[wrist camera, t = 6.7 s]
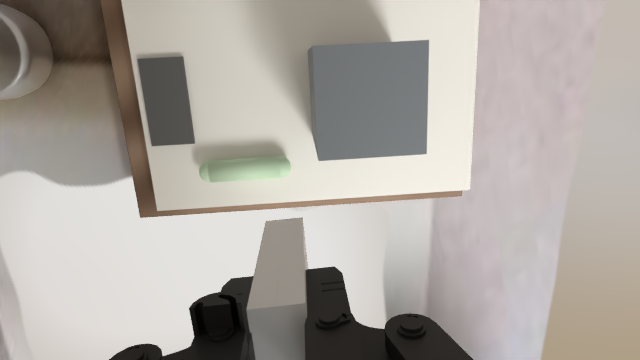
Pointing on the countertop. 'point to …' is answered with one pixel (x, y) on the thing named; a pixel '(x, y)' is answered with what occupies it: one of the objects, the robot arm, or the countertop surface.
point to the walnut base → (137, 139)
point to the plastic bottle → (22, 54)
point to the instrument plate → (303, 98)
